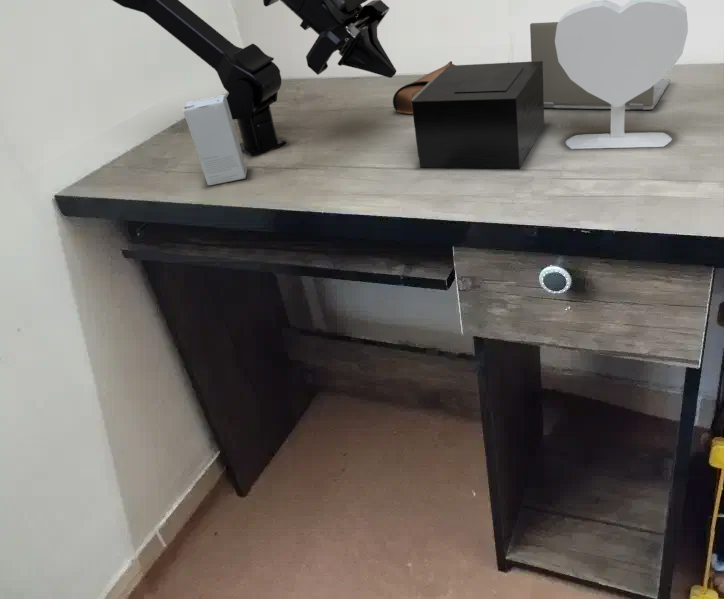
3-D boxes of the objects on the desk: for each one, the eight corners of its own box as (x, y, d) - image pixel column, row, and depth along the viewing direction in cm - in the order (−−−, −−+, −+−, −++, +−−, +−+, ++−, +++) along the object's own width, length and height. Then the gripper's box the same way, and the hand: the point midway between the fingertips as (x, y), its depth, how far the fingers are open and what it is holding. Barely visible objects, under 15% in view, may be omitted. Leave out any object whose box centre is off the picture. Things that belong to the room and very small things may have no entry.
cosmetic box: (247, 169, 112) (227, 92, 106) (246, 180, 108) (225, 101, 102) (208, 176, 112) (185, 100, 106) (205, 187, 108) (182, 109, 102)
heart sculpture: (679, 132, 97) (689, -10, 88) (679, 146, 93) (690, -1, 84) (560, 135, 103) (558, 2, 94) (556, 149, 99) (553, 11, 90)
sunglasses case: (434, 113, 118) (413, 77, 117) (407, 131, 124) (386, 97, 123) (489, 79, 129) (470, 46, 128) (462, 97, 135) (443, 65, 134)
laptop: (670, 83, 114) (676, -4, 107) (652, 111, 105) (657, 18, 98) (557, 83, 123) (556, 2, 116) (532, 109, 114) (529, 23, 107)
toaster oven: (414, 167, 102) (405, 101, 97) (448, 126, 114) (442, 65, 109) (519, 169, 95) (515, 97, 90) (544, 125, 107) (542, 60, 102)
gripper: (308, -34, 90) (402, 50, 92) (366, -60, 104) (447, 14, 105) (269, 35, 98) (357, 112, 99) (328, 2, 112) (404, 70, 113)
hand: (393, 74), depth 104 cm, fingers closed
